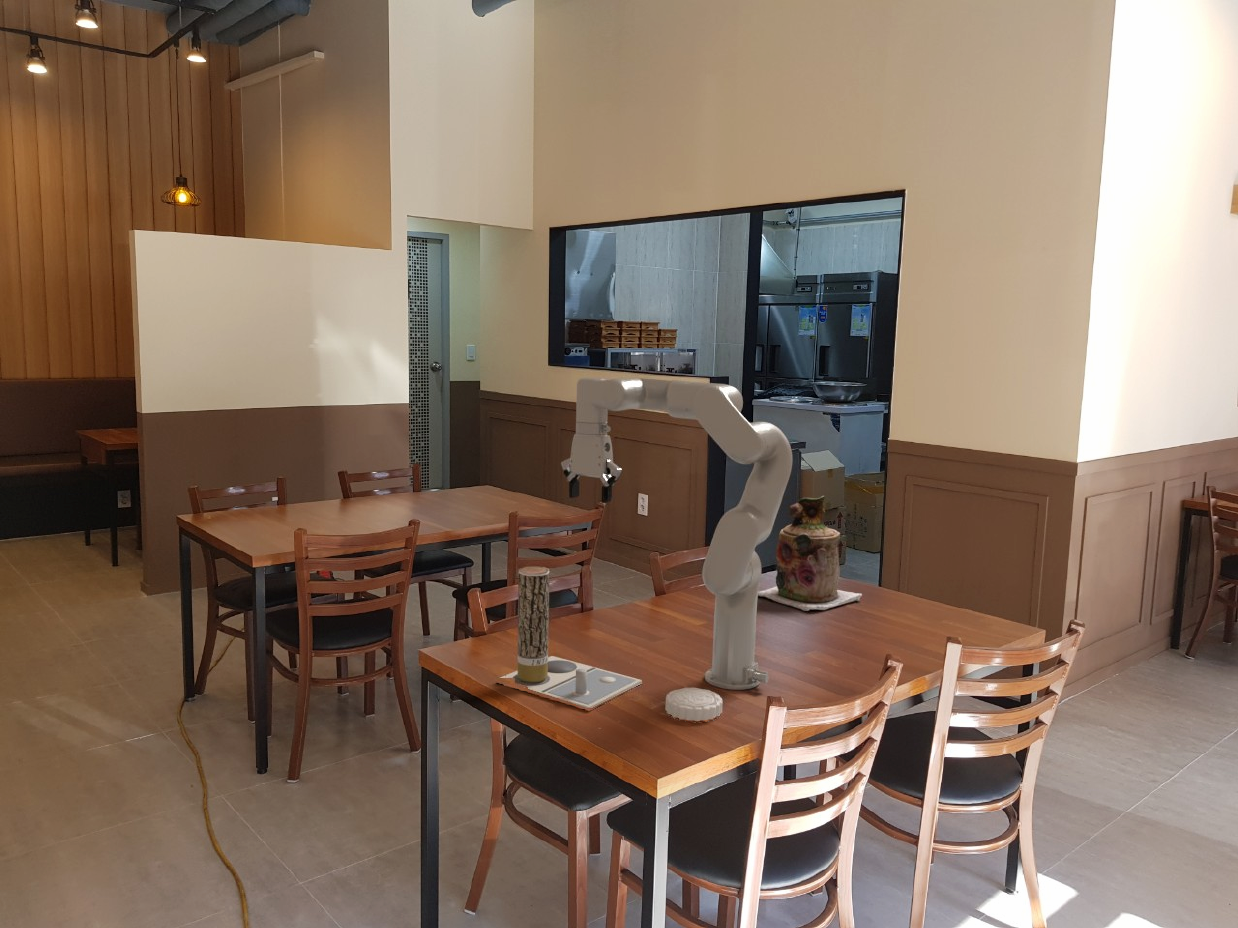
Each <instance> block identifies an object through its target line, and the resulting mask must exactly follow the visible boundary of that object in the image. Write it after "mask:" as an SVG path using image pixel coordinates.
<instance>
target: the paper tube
mask: <svg viewBox="0 0 1238 928" xmlns="http://www.w3.org/2000/svg"><path fill="white" fill-rule="evenodd" d="M517 581H518V583H517V584H518V585H517V586H518V588H517V590H518V591H517V592H518V593H517V594H518V595H517V596H518V597H517V599H518V600H517V603H518V604H517V605H518V606H517V607H518V608H517V670H518V678H519V679H520V680H521V681H523V682H528V683H537V682H541V681H544V680H545V679H546V678H547V676H548V657H549V621H550V620H549V618H550V617H549V613H550V569H549V568H547V567H544V566H524V567H521V568H519V569H518V580H517Z"/></svg>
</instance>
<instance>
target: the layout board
mask: <svg viewBox="0 0 1238 928" xmlns="http://www.w3.org/2000/svg"><path fill="white" fill-rule="evenodd" d="M505 675H506V676H505ZM505 675H503V676H501V677H499V678H515V683H517V684H521V685H522V686H525V685H526V686H527V687H528V689H530V690H533V691H536V692H539V693H542V694H545V695H549V696H552V697H555V698H559V699H561V700H564V701H568V702H571V703H573V704H576V705H579V706H583V707H585V708H593V707H595V706H597V705H599V704H601V703H603V702H605V701H607V700H609V699H611V698H613V697H615V696H617V695H619V694H621V693H623V692H625V691H627V690H629V689H631V688H634V687H636V686H638V685H640V684H642V685H643V680H642V679H639V678H635V677H632V676H628V675H625V674H620V673H617V672H614V671H609V670H605V669H602V668H599V667H596V666H595V667H594V666H592V665H587V664H584V663H580V662H576V661H573V660H569V659H565V658H562V657H558V656H553V655H551V656H548V676H547V678H546V679H545V680H544V681H541V682H537V683H528V682H523V681H521V680H520V679H519V678H518V669H516V670H515V671H513V672H510V673H508V674H505ZM640 686H641V685H640ZM638 687H639V686H638ZM524 688H525V687H524ZM636 688H637V687H636ZM634 689H635V688H634Z"/></svg>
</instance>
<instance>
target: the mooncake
mask: <svg viewBox="0 0 1238 928" xmlns="http://www.w3.org/2000/svg"><path fill="white" fill-rule="evenodd" d="M665 710H666V711H667V712H666V711H665ZM665 710H664V711H665V712H666V714H667V713H668V714H671V715H672V716H673V717H678V718H679V719H686V720H695V721H700V720H708V719H713V718H715V717H716V716H720V714H721V713H722V714H723V698H722V697H721V695H719V694H718V693H716V692H714V691H711V690H709V689H703V688H697V687H695V686H694V687H684V688H680V689H675V690H672V691H670V692H668V693H667V694H666V696H665ZM668 714H667V715H668ZM672 716H671V717H672Z"/></svg>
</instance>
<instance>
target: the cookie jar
mask: <svg viewBox="0 0 1238 928" xmlns="http://www.w3.org/2000/svg"><path fill="white" fill-rule="evenodd" d="M825 498H826V496H825V495H822V496H819V497H818V498H817V497H816V498H814V497H813V498H812V497H802V498H800V499H798V501H797V502H796V503H794V504H792V505H790V507H789V510H788V512H789V516H790V517H793V518H794V519H793V520H792V523H791V524H788V525H786V526H785V527H784V528H782V529H781V530H780V532H779V534H778V542H777V545H776V556H775V558H776V560H777V564H776V572H777V573H776V576H775V583H776V586H773V587H771V588H767V589H764V590H759V591H758V597H764V598H767V599H769V600H771V601H774V602H777V603H779V604H782V605H786V606H790V607H793V608H796V609H799V610H802V611H805V612H808V611H810V610H819V611H820V610H821V611H826V610H828V609H830V608H831V609H832V608H834V607H838V606H842V605H845V604H849V603H852V602H855V601H856V602H857V601H860V598H861V597H862V596H863V594H862V593H858V592H857V593H856V592H851V591H845V590H841V589H840V590H839V589H838V585H839V579H840V572H841V571H840V570H841V569H840V563H839V562H840V561H839V549H838V541H839V540H840V538H841V532H839V531H837V530H836V529H833V528H829V527H828V526H826V525H825V524H824V523H823V522H822V520H823V518H824V515H825V513H826V511H825V509H824V507H825V504H824V503H825Z"/></svg>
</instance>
